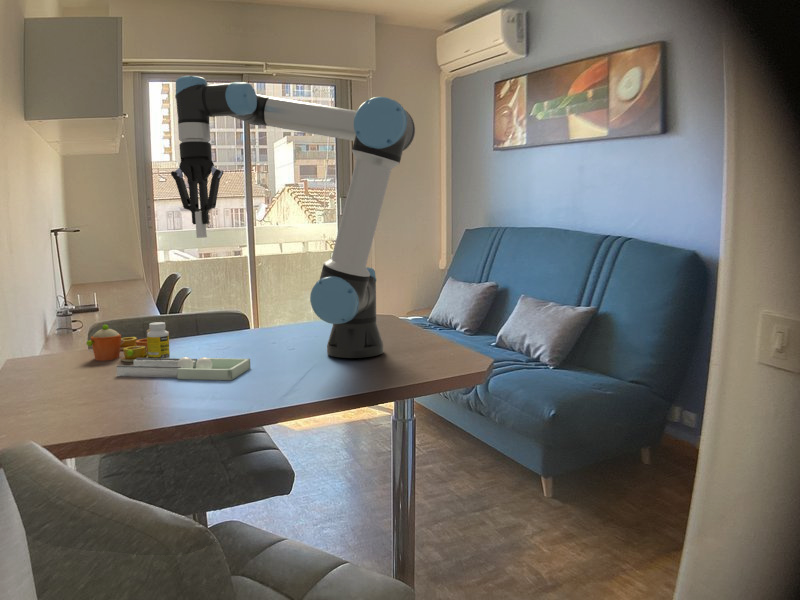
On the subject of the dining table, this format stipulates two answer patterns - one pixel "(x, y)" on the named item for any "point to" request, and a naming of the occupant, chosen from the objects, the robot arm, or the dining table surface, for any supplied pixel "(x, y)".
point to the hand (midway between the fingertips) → (201, 237)
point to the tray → (217, 370)
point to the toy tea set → (117, 345)
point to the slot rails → (152, 367)
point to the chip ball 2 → (204, 363)
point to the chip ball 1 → (185, 363)
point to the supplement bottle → (158, 341)
